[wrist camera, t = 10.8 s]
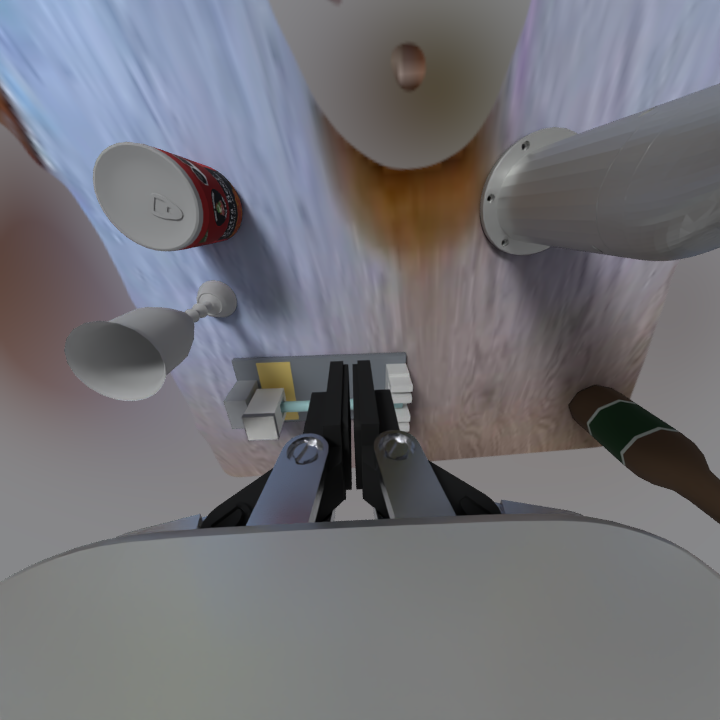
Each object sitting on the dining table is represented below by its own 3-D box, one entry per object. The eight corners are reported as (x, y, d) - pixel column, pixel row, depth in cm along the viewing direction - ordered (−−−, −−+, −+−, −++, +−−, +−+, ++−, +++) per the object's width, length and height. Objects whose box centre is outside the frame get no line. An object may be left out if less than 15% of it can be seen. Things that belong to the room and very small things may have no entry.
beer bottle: (571, 387, 46) (763, 535, 24) (618, 379, 45) (855, 523, 24) (563, 422, 49) (723, 577, 28) (607, 415, 49) (803, 568, 28)
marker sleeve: (284, 387, 41) (273, 415, 35) (288, 409, 43) (278, 439, 37) (256, 388, 41) (241, 417, 35) (261, 410, 42) (248, 440, 37)
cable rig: (405, 352, 41) (414, 373, 36) (401, 414, 47) (408, 440, 41) (233, 358, 41) (215, 380, 35) (250, 420, 46) (237, 447, 41)
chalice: (217, 332, 39) (125, 414, 23) (178, 293, 36) (43, 354, 20) (255, 305, 37) (185, 372, 21) (218, 261, 34) (105, 301, 18)
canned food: (247, 244, 34) (206, 256, 24) (179, 237, 33) (109, 246, 23) (241, 170, 30) (190, 149, 20) (165, 160, 29) (75, 132, 20)
